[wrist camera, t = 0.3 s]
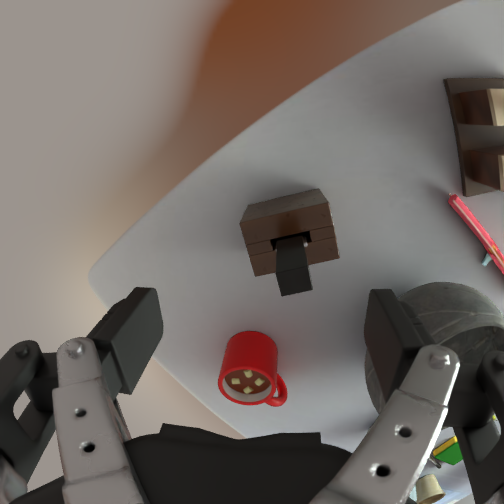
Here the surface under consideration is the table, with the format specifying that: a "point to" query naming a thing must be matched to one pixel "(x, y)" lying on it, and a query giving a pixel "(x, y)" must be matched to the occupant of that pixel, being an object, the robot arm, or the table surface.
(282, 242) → the black block with pin
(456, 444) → the dish sponge
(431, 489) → the flower pot
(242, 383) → the mug
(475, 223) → the pink plastic rod
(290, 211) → the knife block
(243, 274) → the table surface
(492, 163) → the slotted block
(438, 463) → the knife
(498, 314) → the bowl
